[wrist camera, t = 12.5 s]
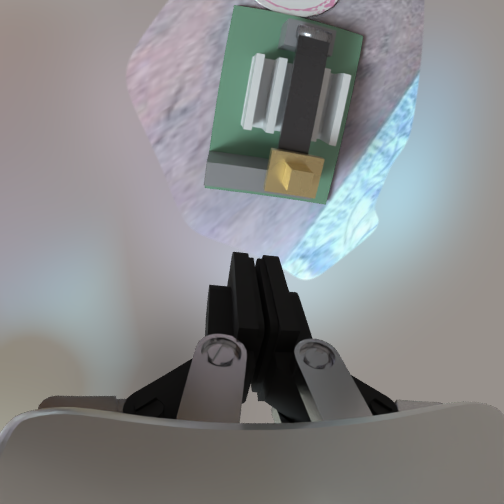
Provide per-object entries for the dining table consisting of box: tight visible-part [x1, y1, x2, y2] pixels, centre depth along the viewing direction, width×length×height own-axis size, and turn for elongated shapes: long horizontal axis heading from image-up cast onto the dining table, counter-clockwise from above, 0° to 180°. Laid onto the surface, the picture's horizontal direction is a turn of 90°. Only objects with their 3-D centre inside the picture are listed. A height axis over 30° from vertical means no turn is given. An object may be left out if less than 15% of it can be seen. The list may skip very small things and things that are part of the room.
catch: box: [263, 148, 325, 199], centre depth 28 cm, size 4×5×3 cm
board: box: [204, 5, 363, 205], centre depth 30 cm, size 22×15×7 cm
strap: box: [277, 24, 332, 154], centre depth 27 cm, size 15×3×2 cm, turn 170°
